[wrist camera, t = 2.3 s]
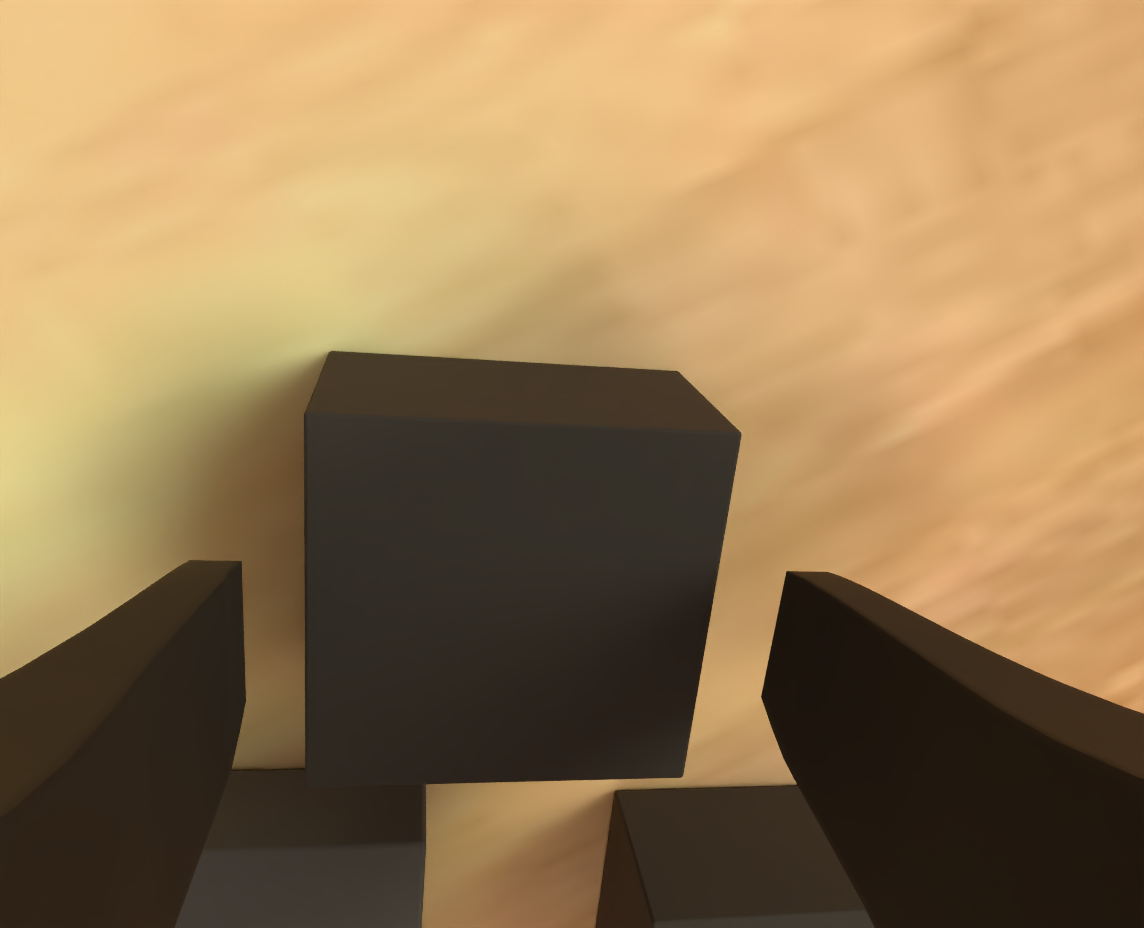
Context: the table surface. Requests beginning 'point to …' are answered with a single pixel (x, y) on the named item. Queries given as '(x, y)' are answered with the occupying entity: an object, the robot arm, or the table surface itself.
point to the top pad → (723, 862)
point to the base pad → (310, 856)
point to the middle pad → (506, 569)
